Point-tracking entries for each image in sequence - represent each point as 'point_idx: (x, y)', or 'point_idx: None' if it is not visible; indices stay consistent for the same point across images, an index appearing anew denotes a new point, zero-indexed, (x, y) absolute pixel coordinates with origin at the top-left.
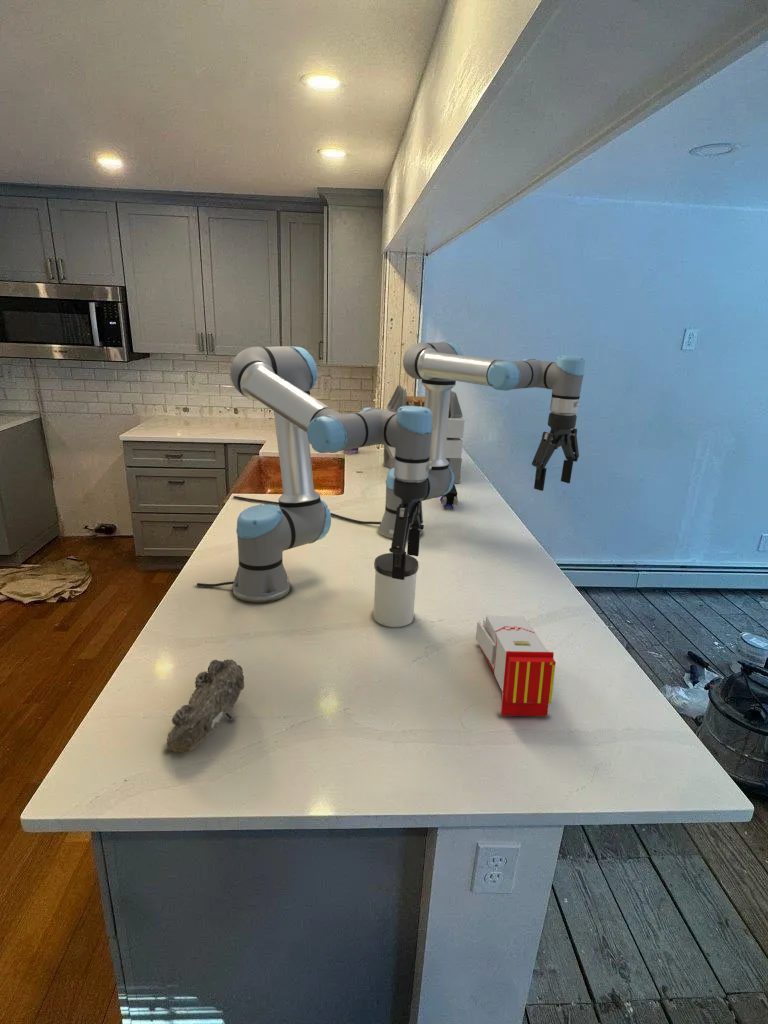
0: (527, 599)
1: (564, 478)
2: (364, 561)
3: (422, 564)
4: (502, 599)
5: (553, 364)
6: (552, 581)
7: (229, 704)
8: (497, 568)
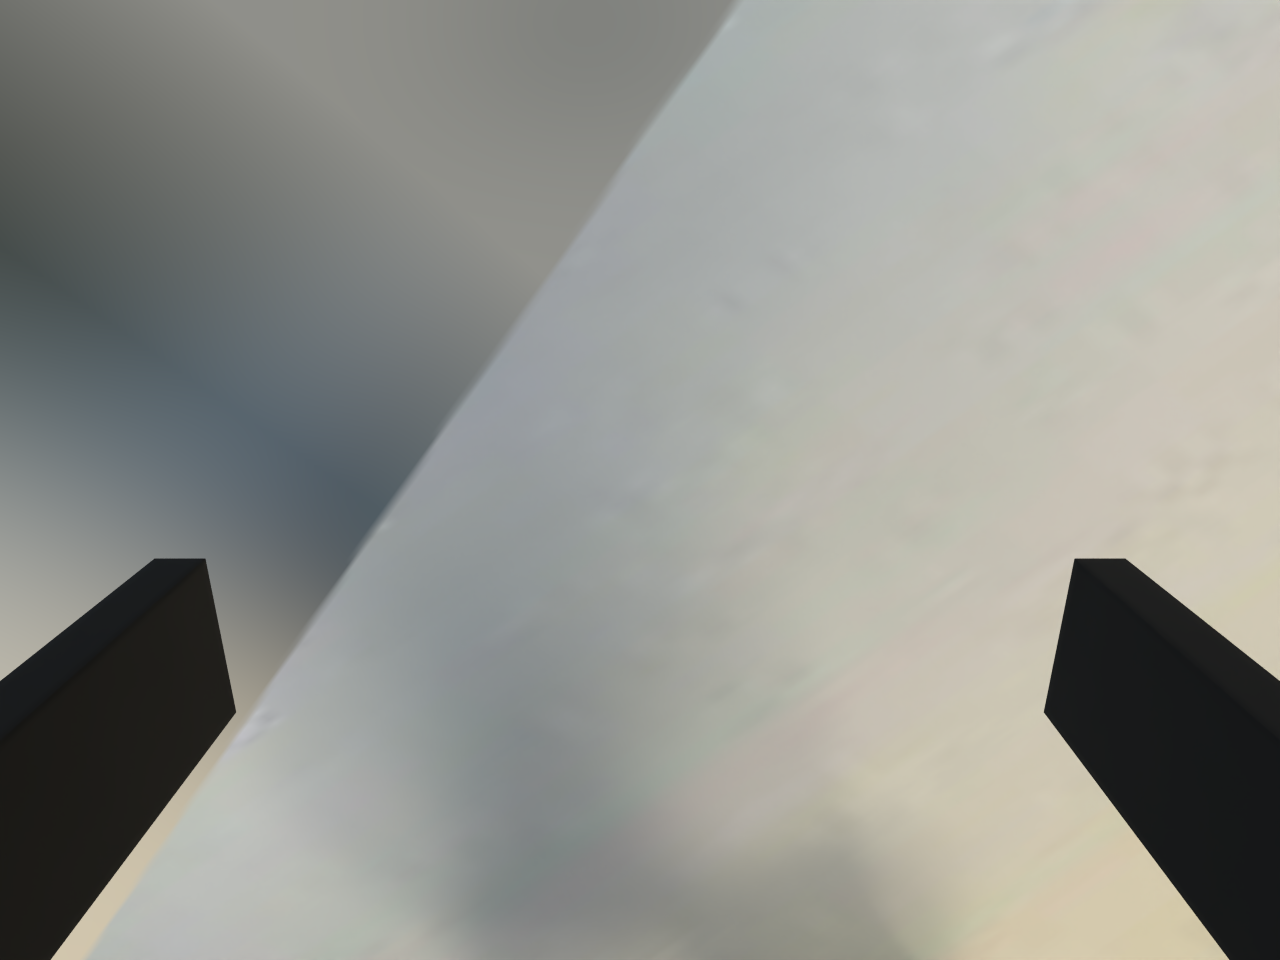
0: (1042, 132)
1: (186, 693)
2: None
3: None
4: (1154, 233)
5: None
6: (683, 188)
7: None
8: (804, 512)
